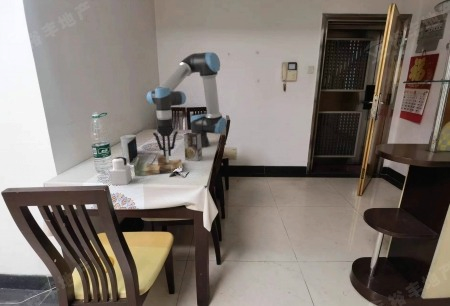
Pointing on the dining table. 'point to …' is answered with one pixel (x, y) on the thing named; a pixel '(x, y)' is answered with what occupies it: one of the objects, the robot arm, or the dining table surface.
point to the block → (161, 160)
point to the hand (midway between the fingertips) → (167, 161)
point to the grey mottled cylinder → (124, 141)
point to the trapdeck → (155, 167)
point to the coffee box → (193, 146)
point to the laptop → (133, 154)
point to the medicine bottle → (120, 171)
